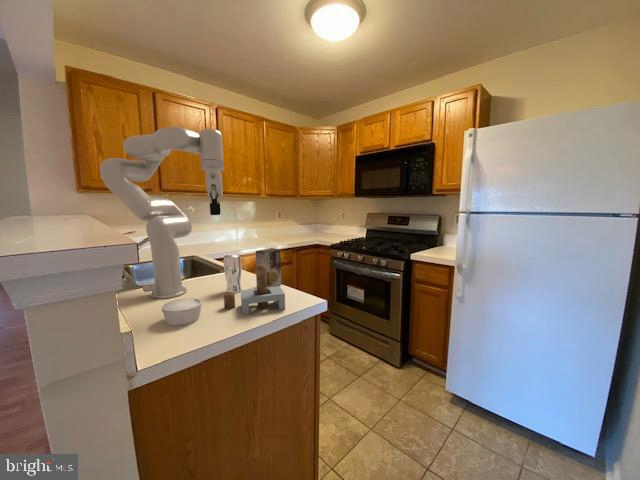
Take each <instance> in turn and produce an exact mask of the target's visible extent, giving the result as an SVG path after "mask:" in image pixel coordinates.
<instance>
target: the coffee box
mask: <svg viewBox="0 0 640 480" xmlns="http://www.w3.org/2000/svg"><path fill="white" fill-rule="evenodd" d="M255 263H256V264H255V266H256V265H260V264H265V265H267V288H268V287H277V286H281V285H282V284H283V283H282V281H283V280H282V262H281V249H279V248H274V247H270V248H263V249H260V250H255Z"/></svg>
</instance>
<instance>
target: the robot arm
mask: <svg viewBox="0 0 640 480" xmlns="http://www.w3.org/2000/svg"><path fill="white" fill-rule="evenodd" d="M122 147H123V151H124V152H125V153H126V155H128V156H129V157H130V158H132V159H133V160H132V159H127V158H120V157H119V158H118V157H112V158H111V157H110V158H107V159H104V160H103V161H102V162H101V163H100V167H99V172H100V176H101V177H100V178H101V179H102V182H103V183H104V185H105V186H106V188H107V189H109V191H111V192H112V193H113V195H115V197H117V198H118V199H120V201H121V202H122V203H123V204H124V205H125V206H126V207H127V208H128V209H129V210H130V212H131V213H132V214H133V215H134V216H135V217H137V219H138V220H141V221H143V222H147V223H146V224H145V231H146V235H147V237H148V241H149V244H150V253H151V260H152V269H153V280H154V281H153V282H154V284H152V285H143V286H142V291H143V292H145V293H146V292H147V293H148V292H151V293H150V295H151V298H153V299H157V300H158V299H160V300H161V299H163V300H164V299H170V298H175V297H179V296H182V295H184V294H186V293H187V287H186V286H183V283H182V268H181V259H180V249H179V246H178V244H177V242H176V241H175V239H178V238H179V239H180V238H184V237H187V236H188V235H190V234H191V233H192V230H193V226H192V221H191V220H190V219H189V217H188V216H187V215H186V214H185V212H183V210H181V208H179V206H177V204H175V202H173V201H172V200H171V199H168V198H166V197H154V196H150V195H149V194H148V193H146V192H145V191H144V190H143V188H142V187H140V186H139V185H137V184H135V183H134V182H140V183H142V182H143V183H144V182H147V181H149V180H150V179H151V177H153V175H155V174H154V173H155V172H156V171H157V169H159V167H160V166H161V164H162V162H163V160H164V159H165V158H166V157H168V156H169V155H171V152H172V151H182V152H186V153H190V154H194V155H200V164H201V165H200V167H201V171H202V172H205V183H206V192H207V193H206V194H207V197H208V198H209V211H210V215H211V216H220V215H221V214H222V213H221V202H220V199H223V198H224V195H223V194H224V193H223V174H222V172H225V163H224V161H225V160H224V143H223V134H222V133H221V132H220V131H219V130H217V129H213V128H204V129H201V130H200V131H199V132H197V131H194V130H191V129H188V128H186V127H181V126H169V127H162V128H161V127H160V128H159V129H157V130H156V131H155V132H154V133H151V134H150V133H149V134H140V135H133V136H128V137H127V138H126V139H124V141H123V143H122ZM134 159H137V160H134Z"/></svg>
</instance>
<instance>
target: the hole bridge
mask: <svg viewBox="0 0 640 480" xmlns="http://www.w3.org/2000/svg"><path fill="white" fill-rule="evenodd" d="M267 291H268V294H265V295H257V288H252V289H242V290H241V292H240V299H241V300H240V301H241V311H242V315H243V316H245V315H250V304H253V305H254V304H257V303H261V302H268V303H269V302H274V303H275V304H276V307H277V308H278V310H280V311H281V309H282V310H286V293H285V291H284V290H283V289H282V287H281V285H278V286H275V287H268V288H267Z"/></svg>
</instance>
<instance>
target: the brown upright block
mask: <svg viewBox="0 0 640 480" xmlns="http://www.w3.org/2000/svg"><path fill="white" fill-rule="evenodd" d="M235 294H236V293H234V292H225V293H223V307H224V310H233V309H235V308H236V297H235V296H236V295H235Z"/></svg>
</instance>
